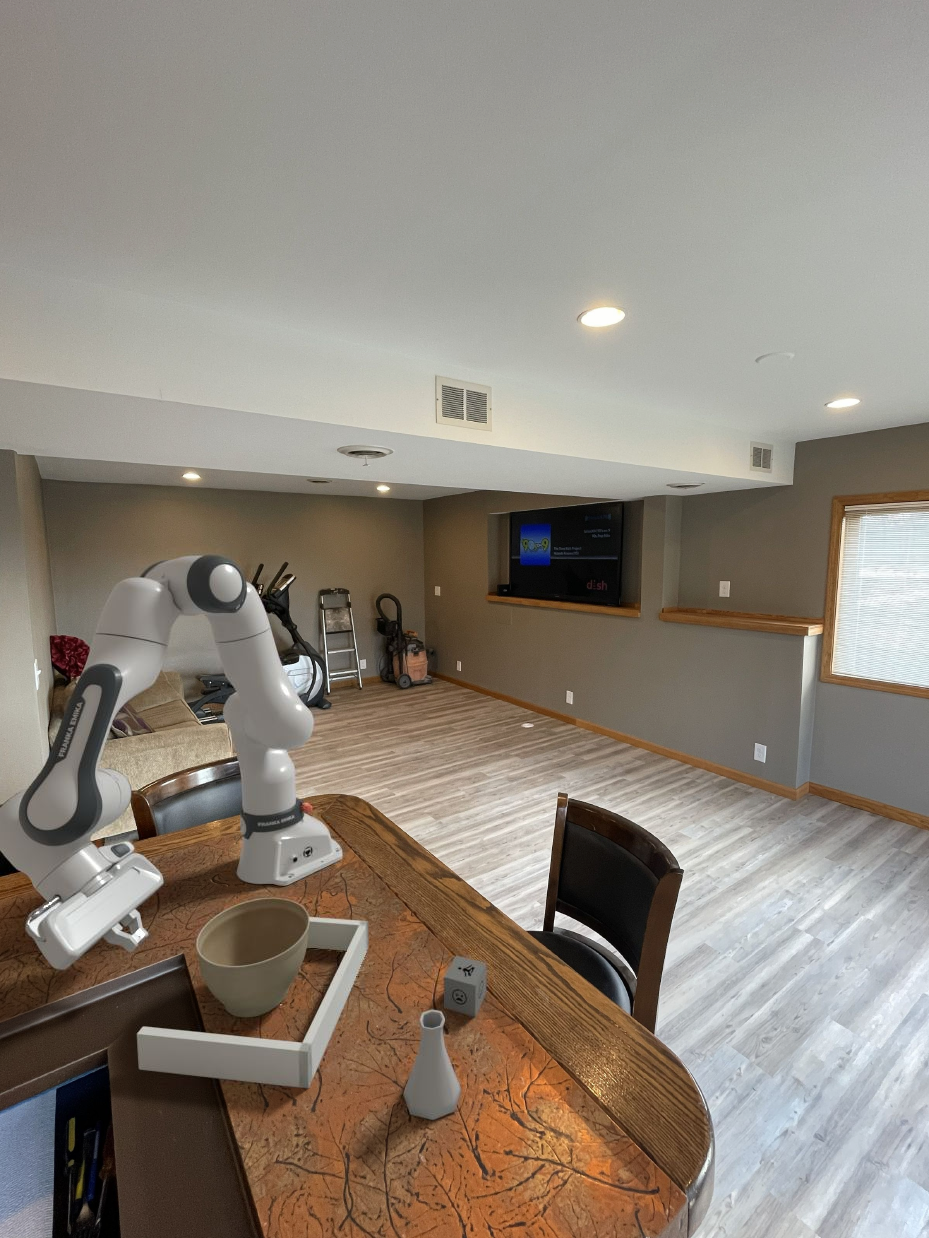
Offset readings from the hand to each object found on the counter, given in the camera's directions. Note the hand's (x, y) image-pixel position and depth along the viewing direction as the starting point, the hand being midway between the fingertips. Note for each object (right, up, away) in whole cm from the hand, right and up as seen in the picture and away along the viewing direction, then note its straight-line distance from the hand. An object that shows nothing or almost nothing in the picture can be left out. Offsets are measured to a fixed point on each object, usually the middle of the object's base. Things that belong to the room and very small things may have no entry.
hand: (139, 943), depth 87 cm
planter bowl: (+18, -8, -1) cm, 20 cm away
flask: (+46, -9, -17) cm, 50 cm away
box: (+21, -8, -2) cm, 22 cm away
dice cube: (+51, -8, -2) cm, 51 cm away
